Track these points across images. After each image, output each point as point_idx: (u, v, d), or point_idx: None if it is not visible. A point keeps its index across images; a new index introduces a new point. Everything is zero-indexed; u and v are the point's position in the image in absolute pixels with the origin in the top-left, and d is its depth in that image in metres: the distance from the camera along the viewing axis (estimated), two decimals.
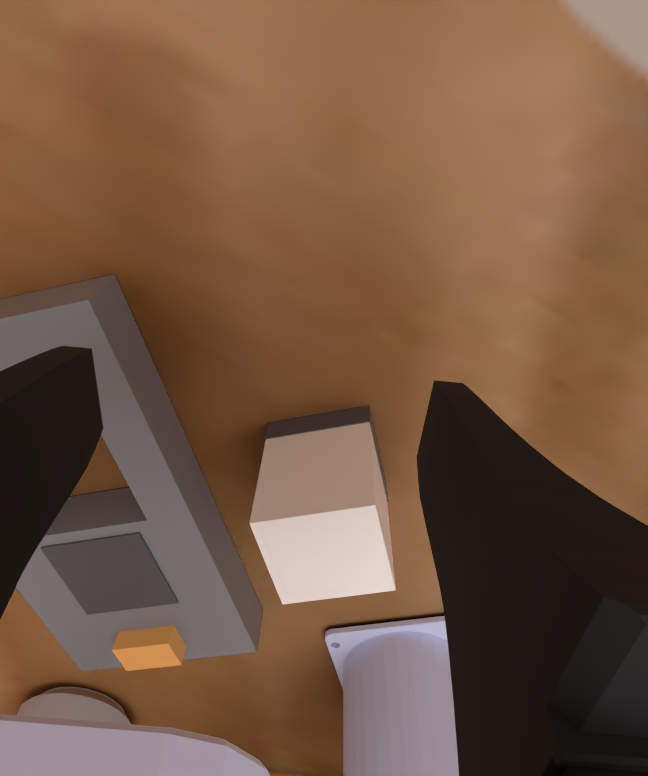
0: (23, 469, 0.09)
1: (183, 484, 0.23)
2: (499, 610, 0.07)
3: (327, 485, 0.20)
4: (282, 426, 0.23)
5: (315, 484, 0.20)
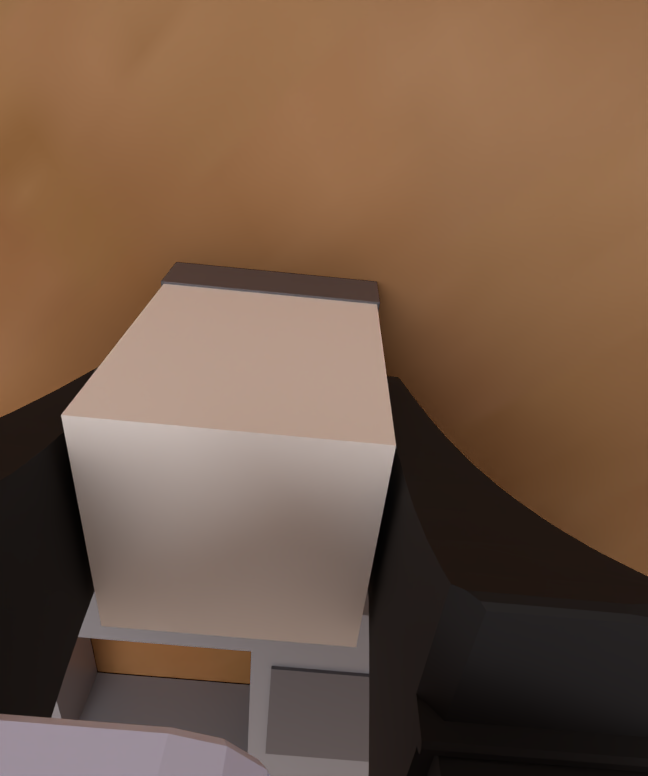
0: None
1: None
2: (397, 601, 0.07)
3: None
4: None
5: None
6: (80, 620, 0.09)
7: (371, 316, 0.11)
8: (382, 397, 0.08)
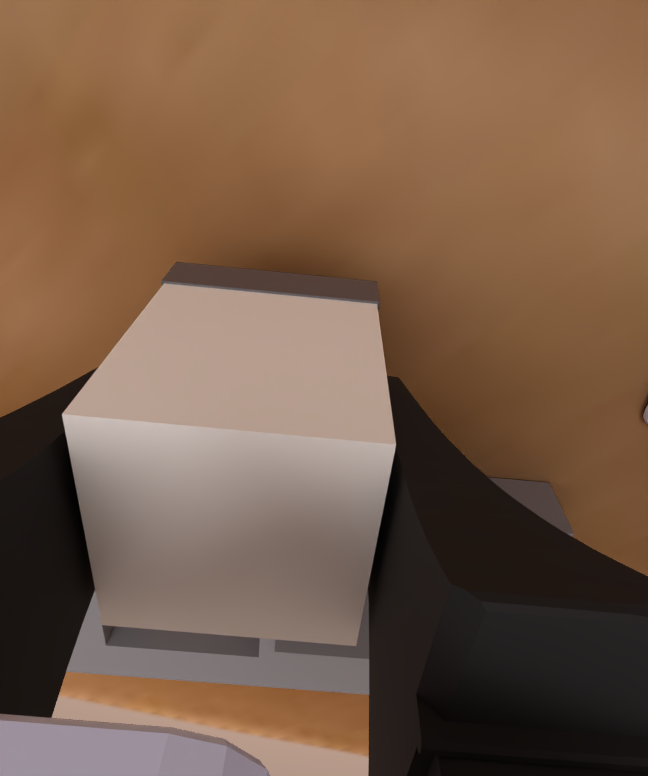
0: None
1: None
2: (396, 601, 0.07)
3: None
4: None
5: None
6: (80, 619, 0.09)
7: (371, 316, 0.11)
8: (382, 396, 0.08)
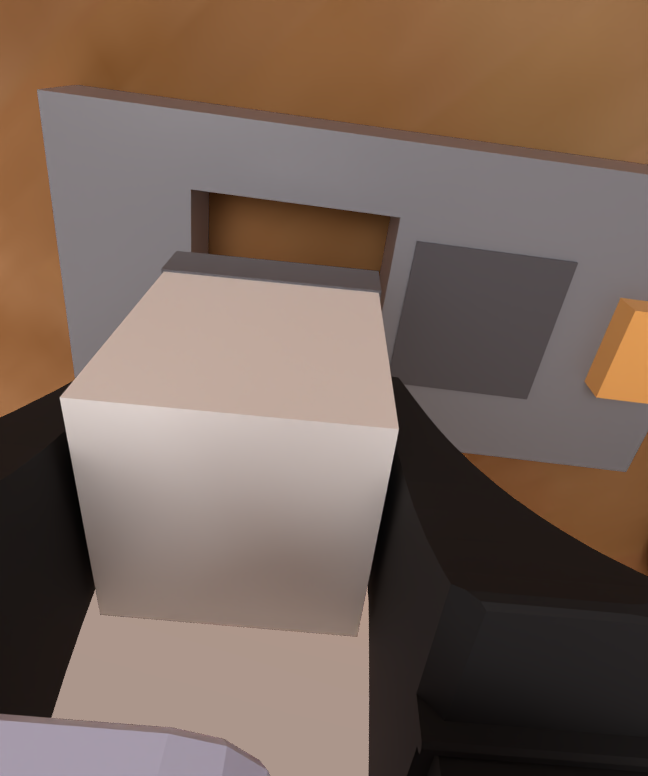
0: None
1: (368, 133, 0.15)
2: (396, 601, 0.07)
3: None
4: None
5: None
6: (80, 619, 0.09)
7: (373, 304, 0.11)
8: (384, 382, 0.08)
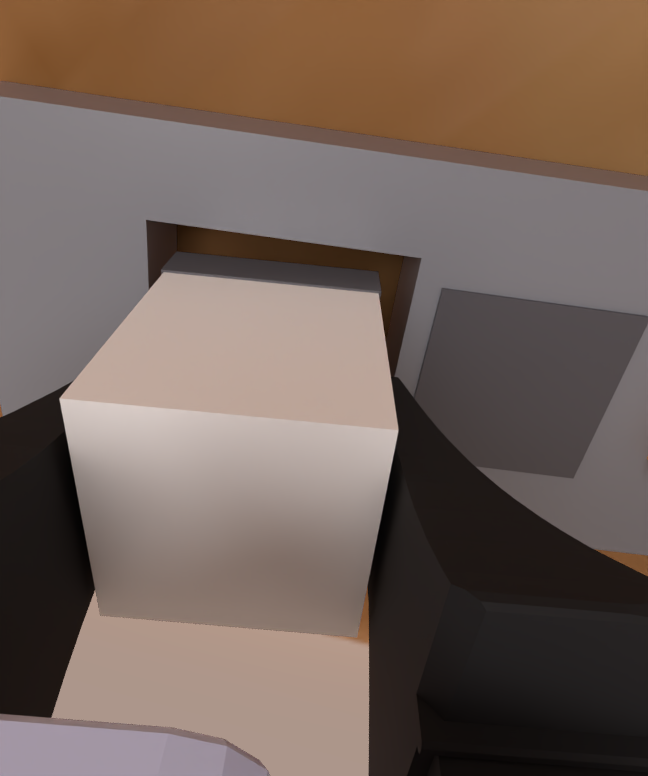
0: None
1: (381, 148, 0.11)
2: (396, 601, 0.07)
3: None
4: None
5: None
6: (80, 620, 0.09)
7: (373, 305, 0.11)
8: (384, 383, 0.08)
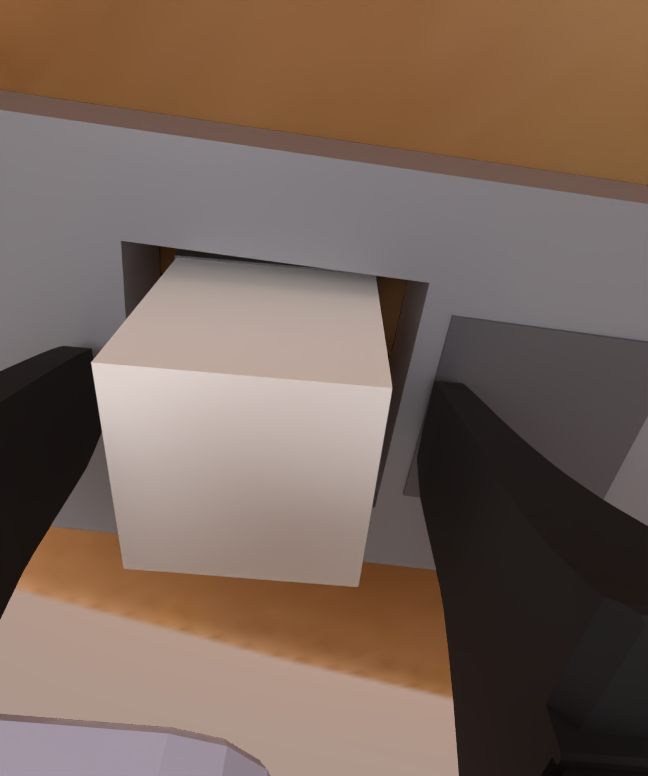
0: (23, 469, 0.09)
1: (384, 161, 0.10)
2: (499, 610, 0.07)
3: None
4: None
5: None
6: None
7: (370, 285, 0.12)
8: (380, 350, 0.09)
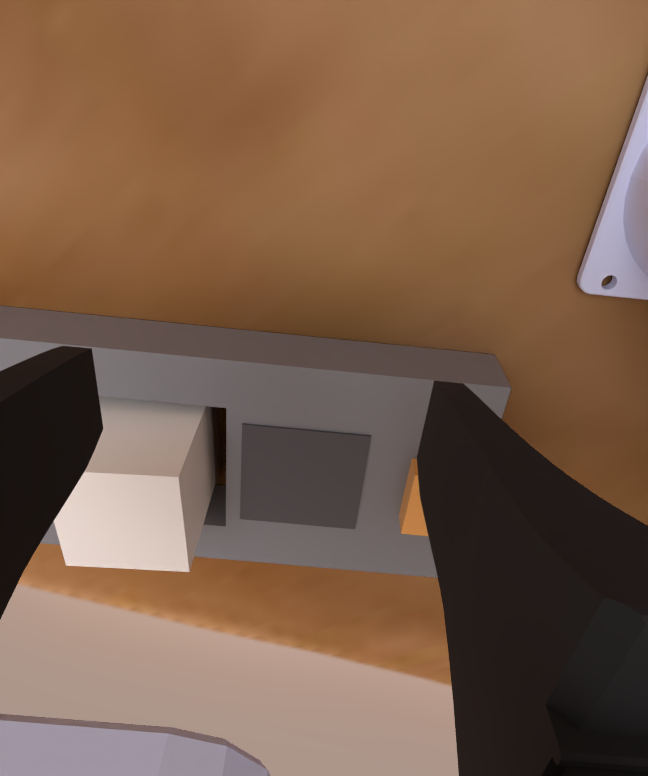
0: (23, 469, 0.09)
1: (194, 350, 0.19)
2: (499, 610, 0.07)
3: None
4: None
5: None
6: None
7: None
8: (184, 453, 0.18)
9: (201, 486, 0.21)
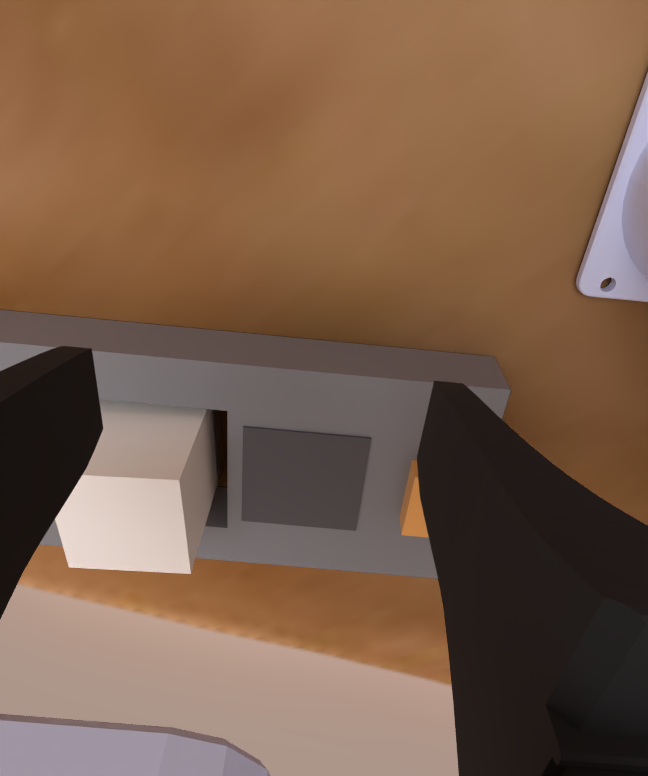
0: (23, 469, 0.09)
1: (195, 353, 0.20)
2: (499, 610, 0.07)
3: None
4: None
5: None
6: None
7: None
8: (184, 457, 0.19)
9: (202, 488, 0.21)
